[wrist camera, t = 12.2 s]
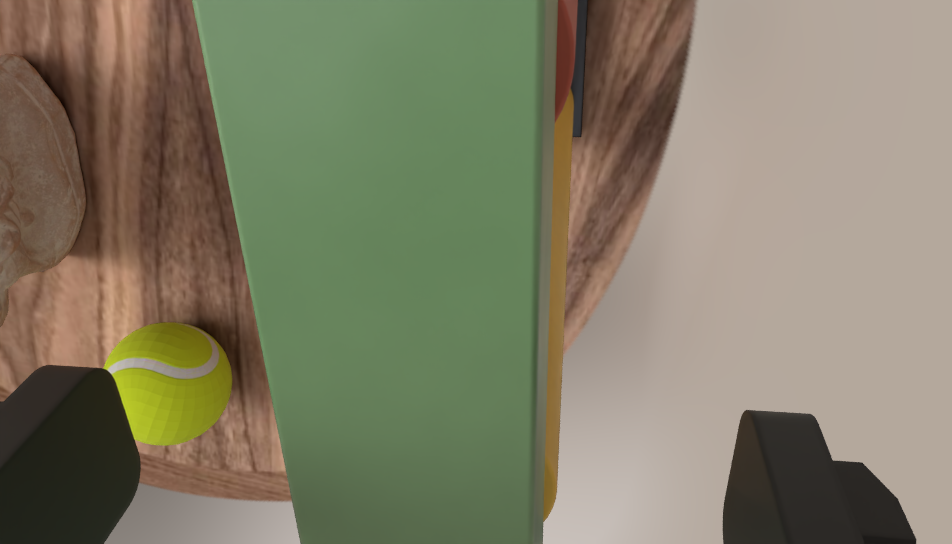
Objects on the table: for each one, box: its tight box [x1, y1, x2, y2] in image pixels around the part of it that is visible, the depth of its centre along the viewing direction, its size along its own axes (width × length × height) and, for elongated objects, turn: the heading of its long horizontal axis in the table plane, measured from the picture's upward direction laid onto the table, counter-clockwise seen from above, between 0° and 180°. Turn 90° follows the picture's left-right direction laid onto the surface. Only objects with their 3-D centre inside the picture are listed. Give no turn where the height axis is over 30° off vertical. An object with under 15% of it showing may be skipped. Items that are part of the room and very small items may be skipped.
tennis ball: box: [103, 322, 232, 445], centre depth 42 cm, size 7×7×7 cm
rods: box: [543, 0, 588, 522], centre depth 23 cm, size 12×4×24 cm, turn 1°
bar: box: [192, 0, 558, 544], centre depth 11 cm, size 14×3×4 cm, turn 1°
